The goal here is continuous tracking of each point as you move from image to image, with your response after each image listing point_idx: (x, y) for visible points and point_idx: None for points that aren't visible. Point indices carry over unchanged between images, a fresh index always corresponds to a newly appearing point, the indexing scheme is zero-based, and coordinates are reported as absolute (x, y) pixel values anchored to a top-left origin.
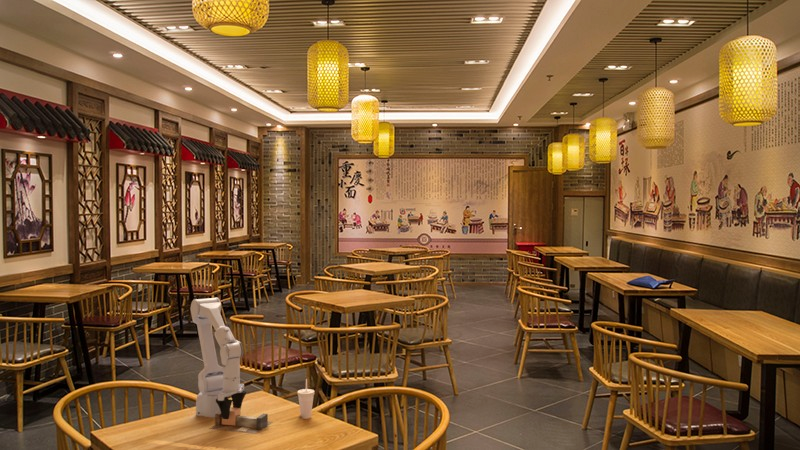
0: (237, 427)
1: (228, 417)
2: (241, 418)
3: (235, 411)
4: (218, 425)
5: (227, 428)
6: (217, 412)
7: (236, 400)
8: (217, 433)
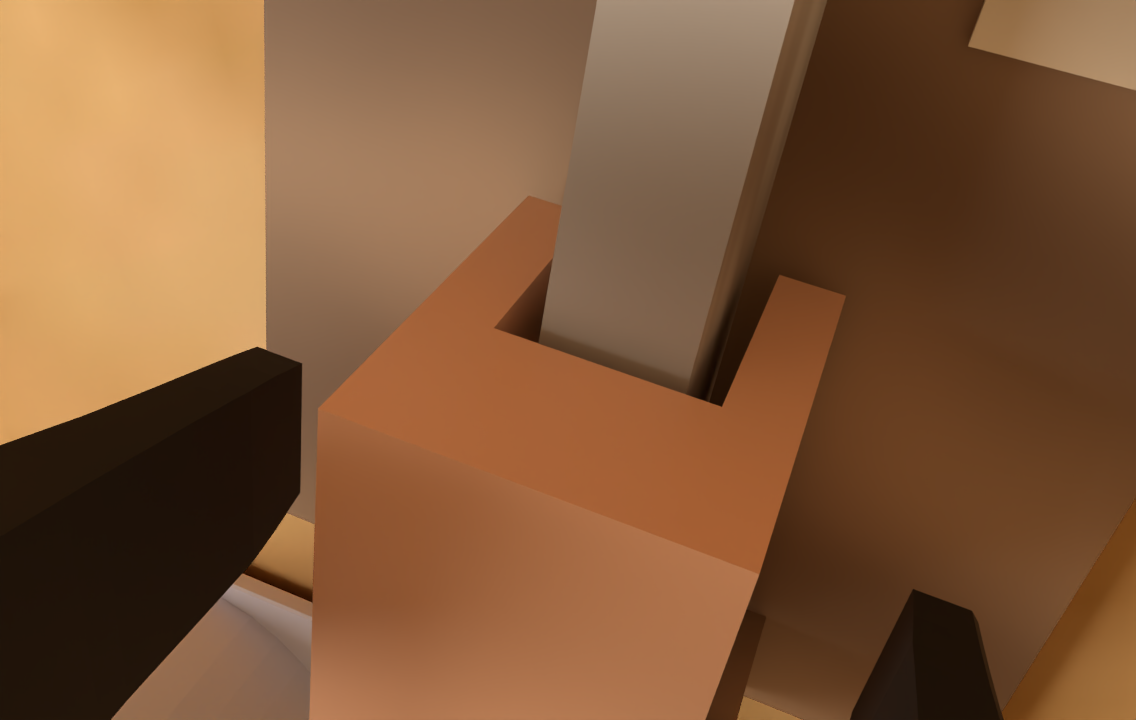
0: (926, 187)
1: (953, 629)
2: (746, 185)
3: (703, 539)
4: (761, 631)
5: (999, 436)
6: (224, 716)
7: (28, 692)
8: (1130, 584)
